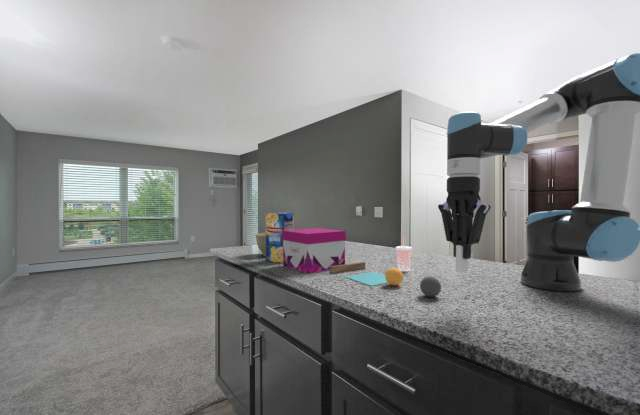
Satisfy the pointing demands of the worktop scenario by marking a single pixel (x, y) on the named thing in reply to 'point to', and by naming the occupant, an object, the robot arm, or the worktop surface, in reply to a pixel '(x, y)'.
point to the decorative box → (313, 249)
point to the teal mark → (369, 278)
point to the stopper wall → (347, 267)
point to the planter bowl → (261, 242)
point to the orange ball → (394, 276)
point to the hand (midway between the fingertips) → (461, 271)
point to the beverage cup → (403, 257)
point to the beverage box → (277, 234)
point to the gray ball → (430, 286)
